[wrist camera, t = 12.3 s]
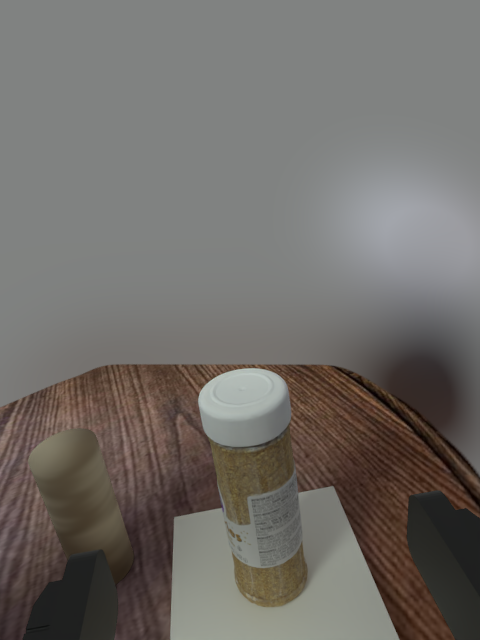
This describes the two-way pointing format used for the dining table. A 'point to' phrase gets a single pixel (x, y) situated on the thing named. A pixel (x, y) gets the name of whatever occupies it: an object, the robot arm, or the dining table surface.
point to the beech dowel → (81, 498)
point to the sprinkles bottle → (257, 482)
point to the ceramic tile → (297, 615)
